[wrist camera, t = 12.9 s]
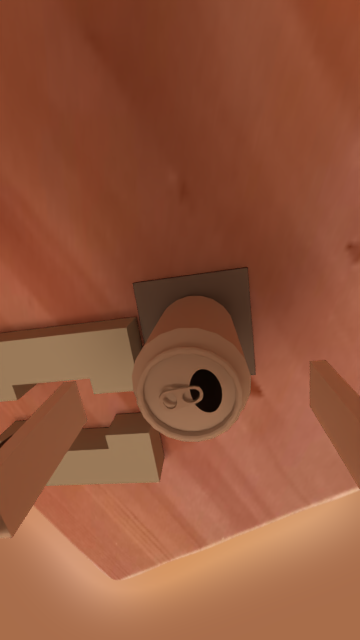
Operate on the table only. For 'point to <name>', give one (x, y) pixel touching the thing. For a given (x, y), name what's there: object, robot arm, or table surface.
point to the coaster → (218, 286)
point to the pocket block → (106, 377)
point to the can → (192, 372)
